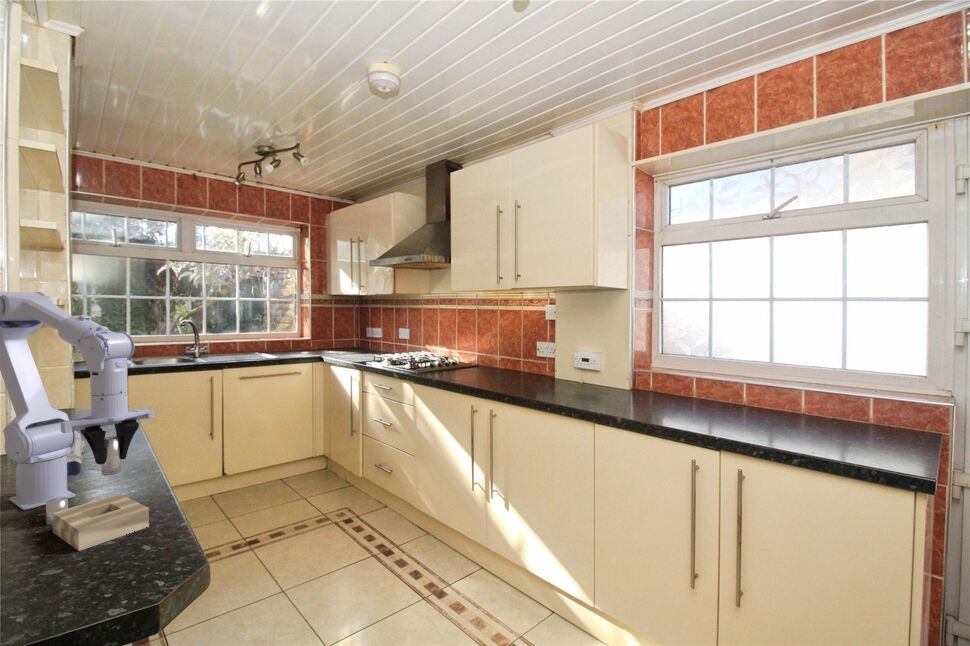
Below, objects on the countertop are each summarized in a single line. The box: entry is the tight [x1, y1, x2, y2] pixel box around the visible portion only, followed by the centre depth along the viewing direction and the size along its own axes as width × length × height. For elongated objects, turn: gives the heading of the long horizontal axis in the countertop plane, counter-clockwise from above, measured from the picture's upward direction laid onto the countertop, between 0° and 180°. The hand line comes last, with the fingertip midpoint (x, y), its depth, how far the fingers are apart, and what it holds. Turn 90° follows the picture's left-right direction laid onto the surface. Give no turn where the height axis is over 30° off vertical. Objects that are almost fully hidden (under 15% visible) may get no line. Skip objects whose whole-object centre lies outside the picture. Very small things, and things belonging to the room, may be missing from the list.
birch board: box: [52, 493, 150, 552], centre depth 82 cm, size 12×10×4 cm
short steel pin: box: [45, 497, 69, 526], centre depth 85 cm, size 3×3×4 cm
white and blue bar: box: [67, 431, 86, 477], centre depth 118 cm, size 5×7×25 cm
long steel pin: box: [100, 435, 122, 477], centre depth 91 cm, size 3×3×7 cm
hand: (111, 460), depth 91 cm, fingers closed on long steel pin, 3 cm apart
